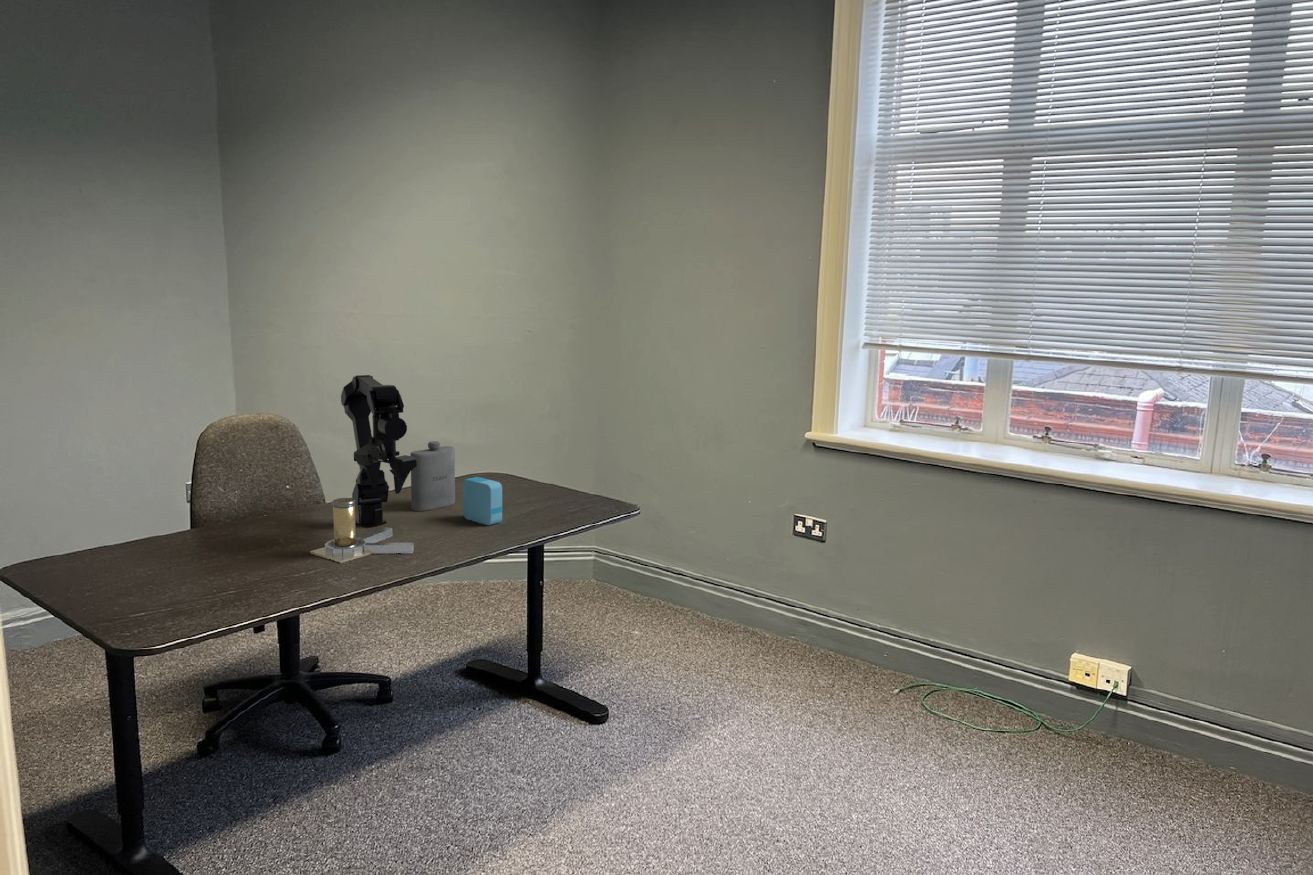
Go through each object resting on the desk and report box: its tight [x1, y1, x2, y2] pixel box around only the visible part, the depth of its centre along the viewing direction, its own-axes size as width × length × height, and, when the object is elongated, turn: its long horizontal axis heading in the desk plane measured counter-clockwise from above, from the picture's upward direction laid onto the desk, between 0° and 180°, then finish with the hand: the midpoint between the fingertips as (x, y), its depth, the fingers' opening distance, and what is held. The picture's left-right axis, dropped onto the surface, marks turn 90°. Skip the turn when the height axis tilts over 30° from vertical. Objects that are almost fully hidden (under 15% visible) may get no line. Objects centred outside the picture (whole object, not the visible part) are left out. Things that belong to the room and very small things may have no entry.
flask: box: [410, 440, 456, 512], centre depth 279 cm, size 15×6×20 cm, turn 141°
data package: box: [462, 476, 503, 526], centre depth 266 cm, size 12×4×12 cm, turn 51°
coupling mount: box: [309, 526, 414, 564], centre depth 238 cm, size 20×23×2 cm
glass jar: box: [332, 497, 357, 548], centre depth 234 cm, size 5×5×13 cm
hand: (385, 490), depth 247 cm, fingers open, 9 cm apart
